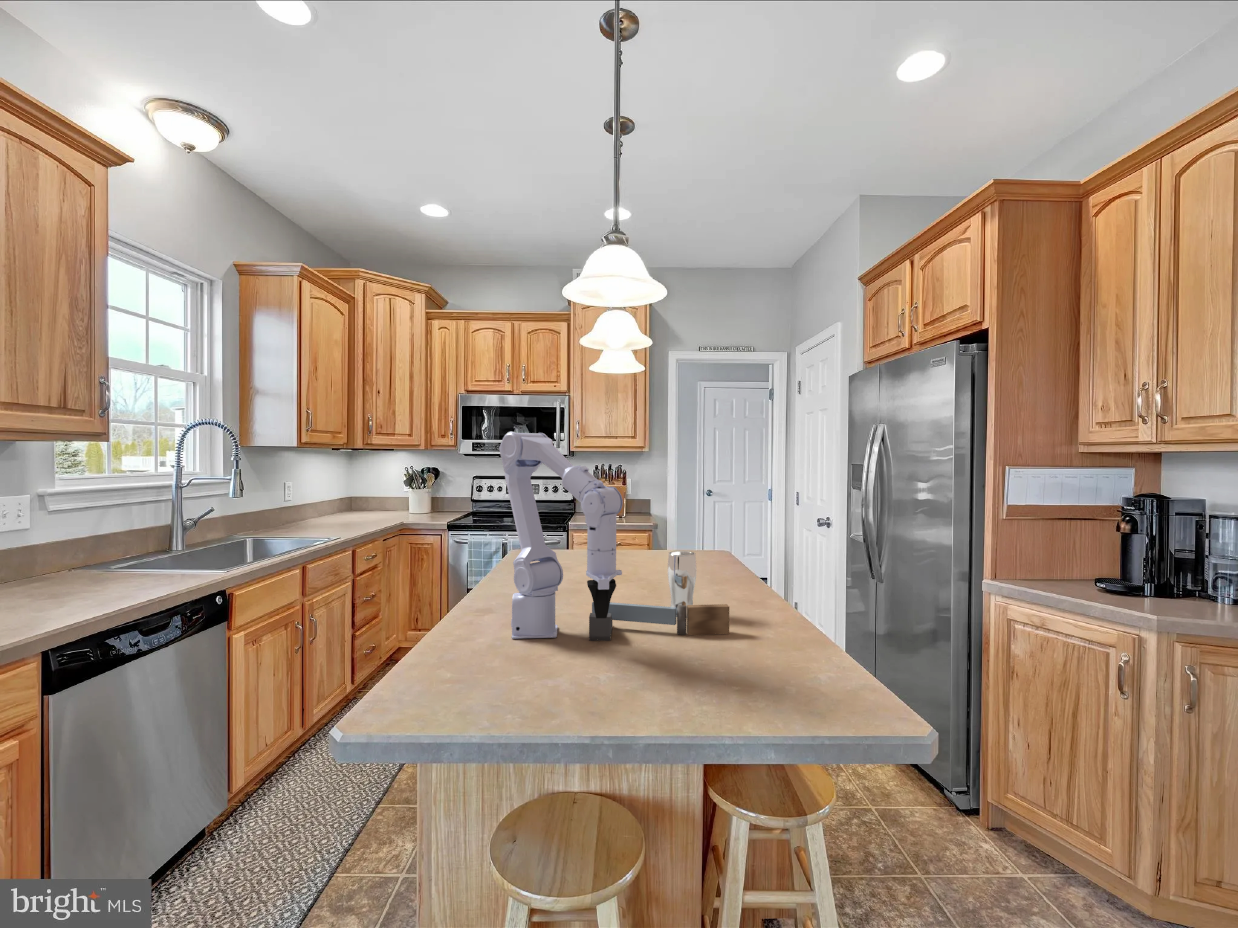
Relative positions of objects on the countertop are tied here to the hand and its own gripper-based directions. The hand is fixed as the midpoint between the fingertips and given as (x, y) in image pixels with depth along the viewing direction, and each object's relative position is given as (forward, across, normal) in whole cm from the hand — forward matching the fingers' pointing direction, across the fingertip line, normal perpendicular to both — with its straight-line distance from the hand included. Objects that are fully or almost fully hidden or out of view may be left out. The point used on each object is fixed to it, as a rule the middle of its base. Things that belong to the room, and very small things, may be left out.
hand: (601, 617), depth 113 cm
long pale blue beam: (+5, +14, -8) cm, 17 cm away
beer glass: (+7, +25, -21) cm, 33 cm away
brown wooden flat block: (+7, +10, -23) cm, 26 cm away
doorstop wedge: (+7, +12, -1) cm, 14 cm away
